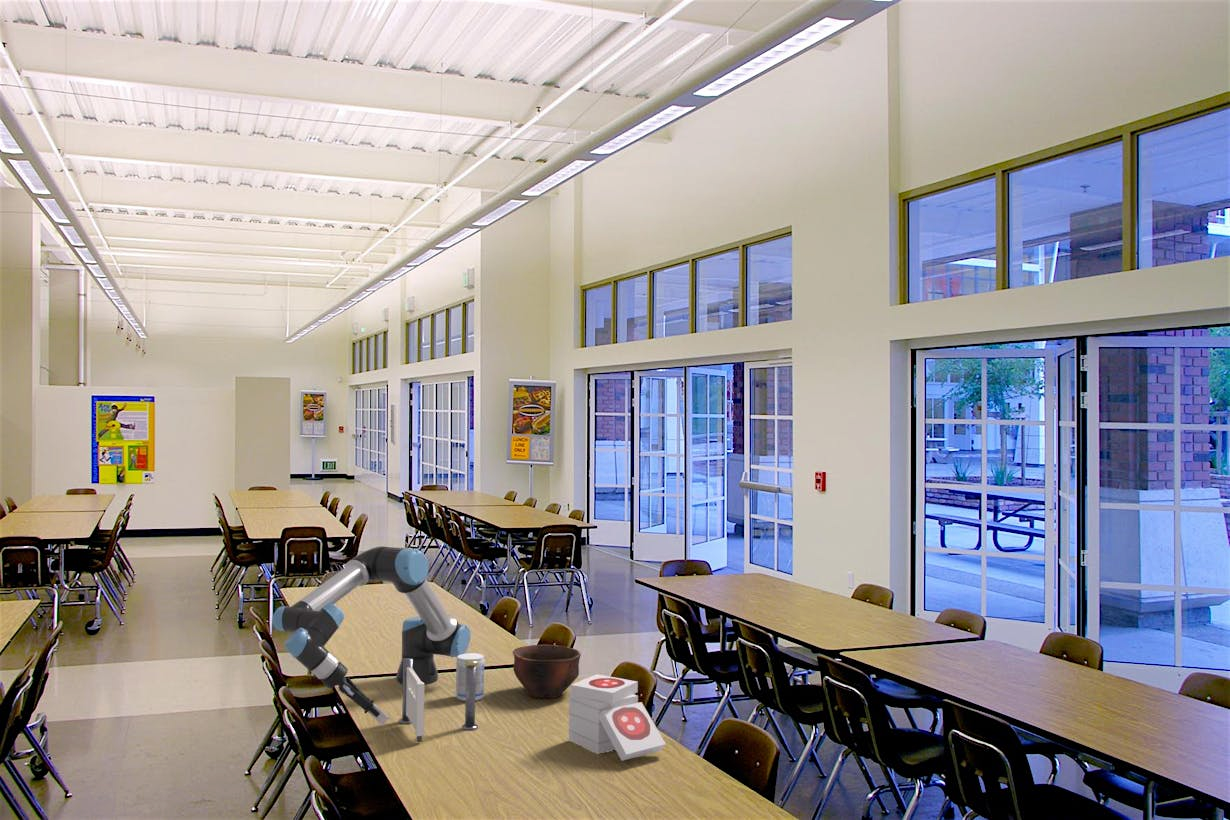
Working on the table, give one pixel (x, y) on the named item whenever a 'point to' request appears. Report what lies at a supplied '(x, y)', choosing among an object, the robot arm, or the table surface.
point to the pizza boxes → (611, 718)
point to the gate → (415, 702)
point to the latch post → (470, 695)
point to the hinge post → (406, 664)
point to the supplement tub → (462, 676)
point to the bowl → (546, 669)
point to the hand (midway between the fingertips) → (385, 721)
